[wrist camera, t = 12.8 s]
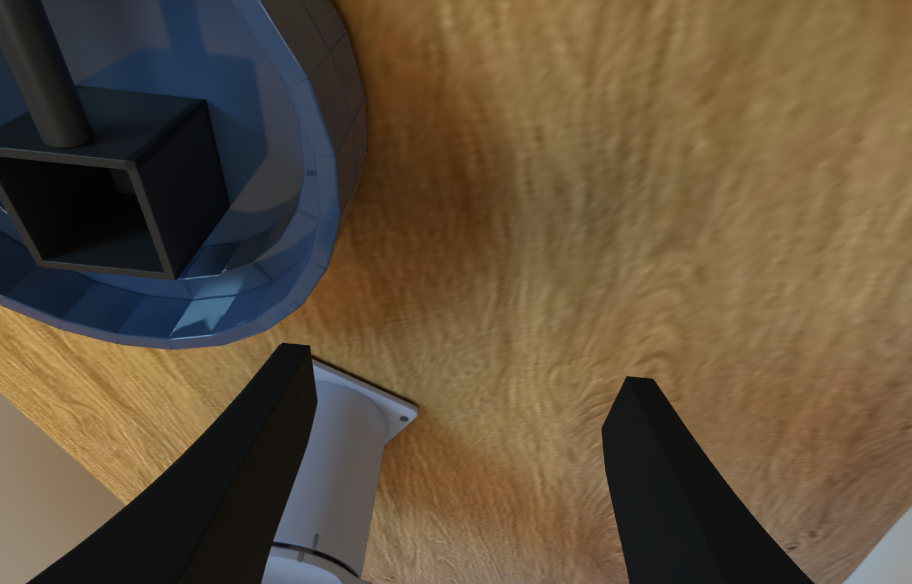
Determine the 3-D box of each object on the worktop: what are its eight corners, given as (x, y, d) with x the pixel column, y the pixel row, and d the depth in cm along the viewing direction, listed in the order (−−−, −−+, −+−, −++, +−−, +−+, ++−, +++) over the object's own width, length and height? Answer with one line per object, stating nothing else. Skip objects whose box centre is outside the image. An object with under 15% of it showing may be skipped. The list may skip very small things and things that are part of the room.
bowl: (274, 316, 25) (236, 400, 21) (-101, 138, 19) (-245, 208, 15) (455, 42, 16) (445, 100, 12) (-125, -408, 11) (-453, -548, 7)
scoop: (231, 206, 20) (176, 281, 16) (117, 194, 20) (38, 267, 16) (175, -33, 15) (78, 2, 11) (20, -51, 14) (-127, -21, 11)
